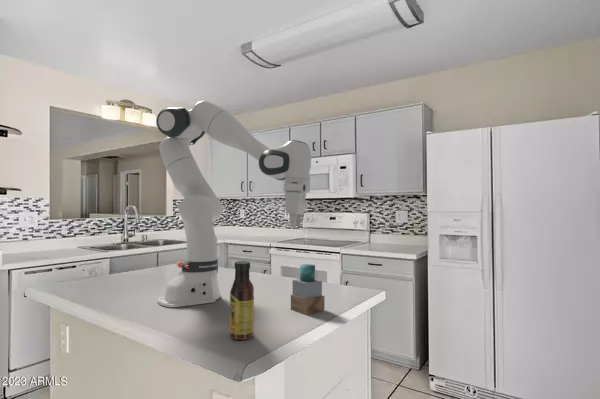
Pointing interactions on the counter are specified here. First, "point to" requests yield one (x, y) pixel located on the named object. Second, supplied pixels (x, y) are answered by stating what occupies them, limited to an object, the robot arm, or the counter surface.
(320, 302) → the walnut base block
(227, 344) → the counter surface
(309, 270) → the teal cylinder
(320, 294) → the slate top block
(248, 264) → the sauce bottle
